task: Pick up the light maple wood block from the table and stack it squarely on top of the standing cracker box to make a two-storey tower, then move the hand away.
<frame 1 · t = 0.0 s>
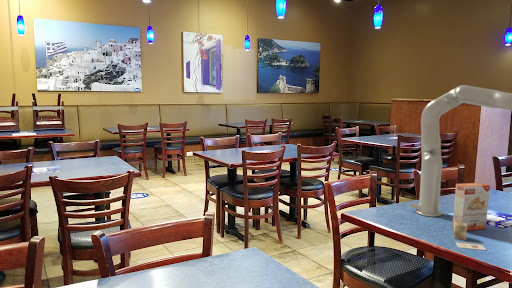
menu card: (469, 245, 156), on the table
maple block: (459, 237, 166), on the table
cracker box: (469, 229, 178), on the table
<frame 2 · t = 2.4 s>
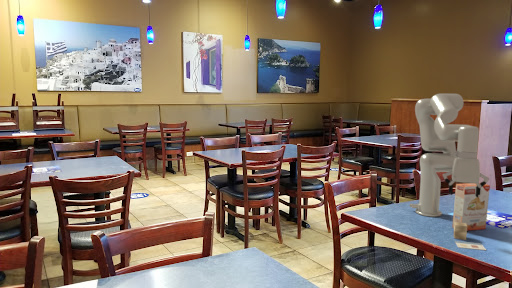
hand: (463, 195, 164), 19 cm above the table, tool pointing down, fingers open, 9 cm apart
nothing on the table moved.
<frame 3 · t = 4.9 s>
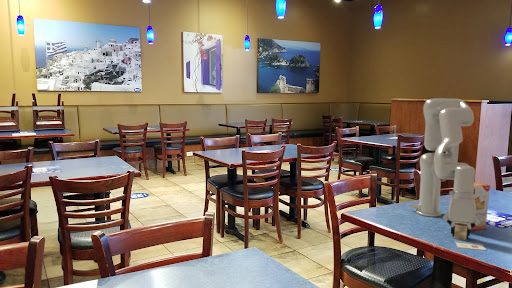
hand: (459, 235, 166), 1 cm above the table, tool pointing down, fingers closed on maple block, 4 cm apart
maple block: (459, 237, 166), on the table, touching gripper
everything else where it was.
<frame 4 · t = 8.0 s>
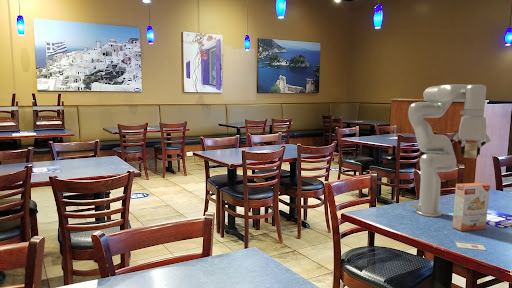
hand: (469, 155, 167), 35 cm above the table, tool pointing down, fingers closed on maple block, 4 cm apart
maple block: (469, 157, 167), point 34 cm above the table, touching gripper
everything else where it was.
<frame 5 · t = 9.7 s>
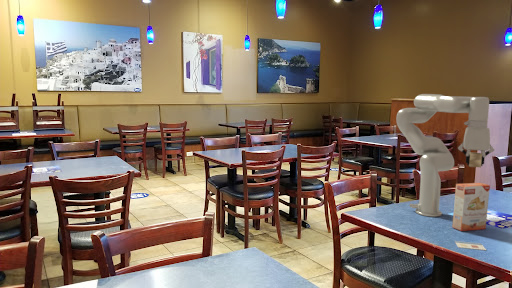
hand: (474, 164, 174), 30 cm above the table, tool pointing down, fingers closed on maple block, 4 cm apart
maple block: (474, 166, 174), point 29 cm above the table, touching gripper
everything else where it was.
when the fingers open (23 cm above the table, at t = 11.3 s): maple block drops 1 cm, resting on cracker box.
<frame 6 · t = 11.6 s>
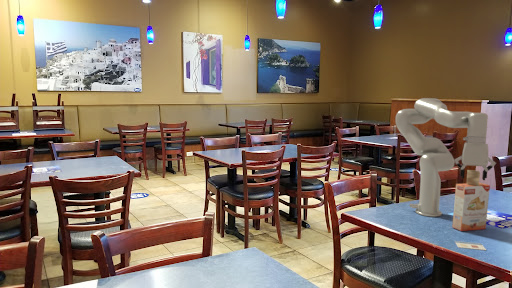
hand: (473, 178, 175), 23 cm above the table, tool pointing down, fingers open, 7 cm apart
maple block: (472, 184, 175), point 21 cm above the table, touching cracker box
cracker box: (469, 229, 178), on the table, touching maple block
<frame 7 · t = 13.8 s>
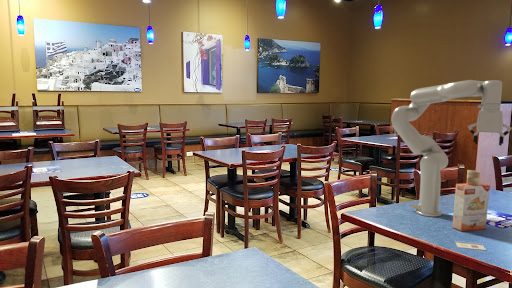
hand: (487, 144, 179), 38 cm above the table, tool pointing down, fingers open, 9 cm apart
nothing on the table moved.
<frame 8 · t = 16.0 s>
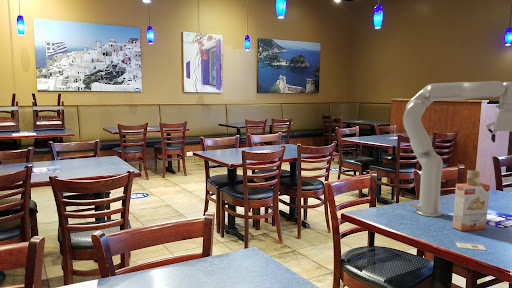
hand: (505, 142, 188), 38 cm above the table, tool pointing down, fingers open, 9 cm apart
nothing on the table moved.
at the end: maple block point 20.9 cm above the table; maple block 0.1 cm from the cracker box (horizontally); maple block tilted 0° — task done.
